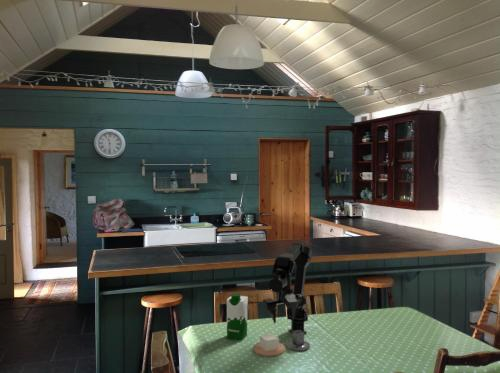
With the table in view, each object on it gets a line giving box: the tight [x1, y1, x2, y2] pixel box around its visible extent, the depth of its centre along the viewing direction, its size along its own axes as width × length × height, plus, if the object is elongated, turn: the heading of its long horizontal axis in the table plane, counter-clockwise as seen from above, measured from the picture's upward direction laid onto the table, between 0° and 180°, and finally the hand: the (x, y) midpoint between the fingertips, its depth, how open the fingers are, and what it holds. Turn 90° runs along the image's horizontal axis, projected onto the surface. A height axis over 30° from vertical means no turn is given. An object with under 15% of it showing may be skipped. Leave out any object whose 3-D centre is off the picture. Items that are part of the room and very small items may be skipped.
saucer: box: [253, 341, 286, 358], centre depth 183 cm, size 13×13×1 cm
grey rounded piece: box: [285, 330, 311, 352], centre depth 186 cm, size 10×10×6 cm
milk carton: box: [225, 293, 249, 342], centre depth 196 cm, size 9×9×20 cm
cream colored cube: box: [259, 333, 280, 351], centre depth 183 cm, size 6×6×4 cm
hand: (284, 321), depth 186 cm, fingers open, 9 cm apart
